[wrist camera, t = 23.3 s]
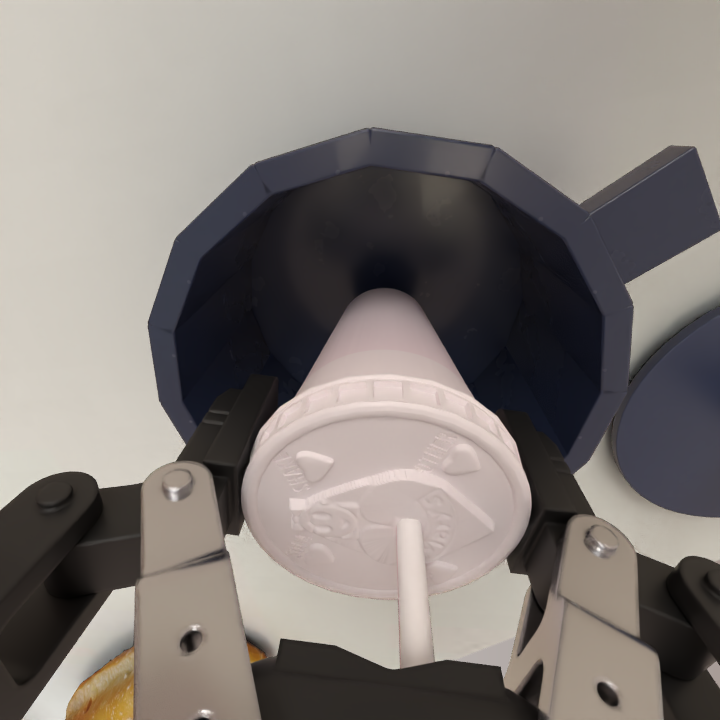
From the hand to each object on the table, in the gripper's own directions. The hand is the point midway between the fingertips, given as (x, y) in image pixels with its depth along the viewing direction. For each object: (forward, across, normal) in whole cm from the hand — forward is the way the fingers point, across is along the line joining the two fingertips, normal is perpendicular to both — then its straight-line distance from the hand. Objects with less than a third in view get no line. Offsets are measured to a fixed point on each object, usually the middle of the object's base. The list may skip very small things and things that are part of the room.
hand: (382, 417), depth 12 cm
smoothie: (+6, 0, 0) cm, 6 cm away
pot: (+10, 0, 0) cm, 10 cm away
